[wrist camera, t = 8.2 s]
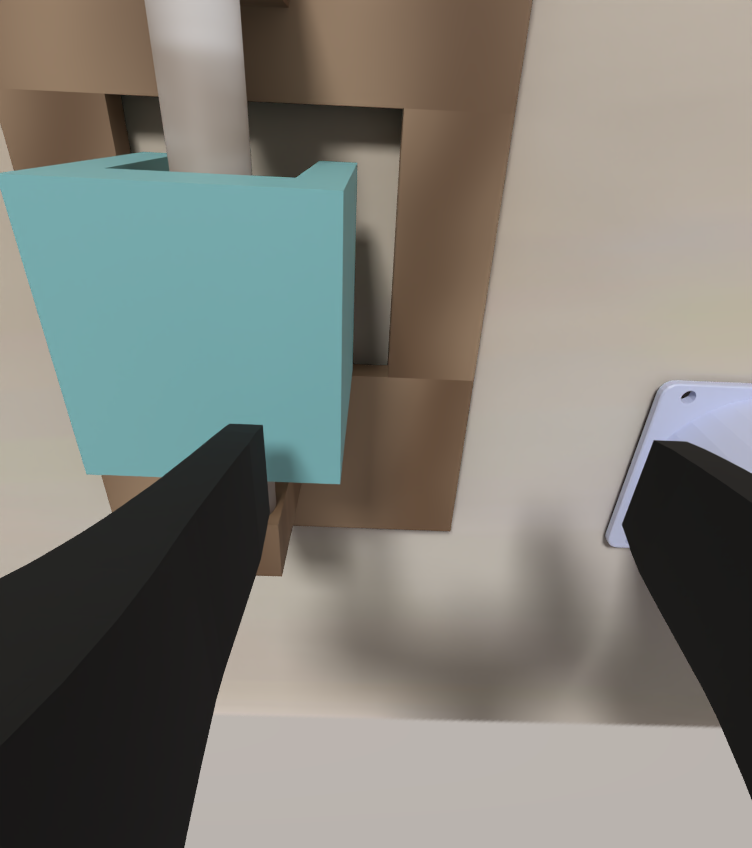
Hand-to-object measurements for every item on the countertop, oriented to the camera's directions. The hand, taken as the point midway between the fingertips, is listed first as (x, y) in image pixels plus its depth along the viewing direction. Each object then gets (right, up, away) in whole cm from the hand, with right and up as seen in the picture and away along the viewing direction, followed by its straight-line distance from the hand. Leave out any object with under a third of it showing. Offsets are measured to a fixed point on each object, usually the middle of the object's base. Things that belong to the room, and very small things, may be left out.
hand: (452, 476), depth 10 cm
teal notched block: (-5, +5, +5) cm, 9 cm away
